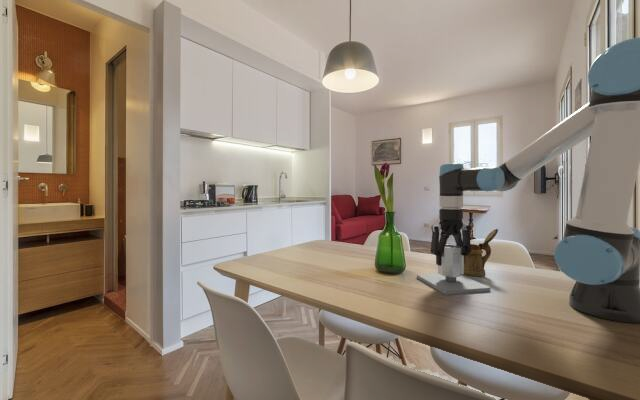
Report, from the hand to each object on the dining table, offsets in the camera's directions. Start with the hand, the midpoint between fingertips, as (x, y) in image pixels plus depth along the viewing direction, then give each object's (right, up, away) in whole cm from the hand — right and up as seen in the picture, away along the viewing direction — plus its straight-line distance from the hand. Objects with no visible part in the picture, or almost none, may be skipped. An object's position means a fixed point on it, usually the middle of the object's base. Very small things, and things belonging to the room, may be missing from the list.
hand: (450, 273), depth 99 cm
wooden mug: (+16, -3, +12) cm, 21 cm away
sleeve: (0, 0, 0) cm, 0 cm away
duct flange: (0, -4, 0) cm, 4 cm away
